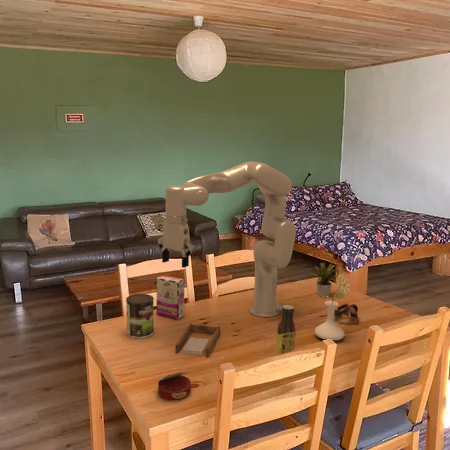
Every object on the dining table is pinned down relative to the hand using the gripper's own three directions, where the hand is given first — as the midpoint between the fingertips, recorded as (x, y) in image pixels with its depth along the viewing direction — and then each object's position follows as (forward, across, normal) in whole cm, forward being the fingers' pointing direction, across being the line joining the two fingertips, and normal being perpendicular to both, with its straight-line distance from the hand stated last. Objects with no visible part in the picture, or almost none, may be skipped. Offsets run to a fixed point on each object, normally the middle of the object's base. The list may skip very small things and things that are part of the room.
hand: (175, 264), depth 179 cm
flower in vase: (+27, -49, -35) cm, 66 cm away
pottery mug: (+27, -48, -54) cm, 78 cm away
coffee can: (+28, +10, +8) cm, 31 cm away
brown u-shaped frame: (+28, -13, +1) cm, 30 cm away
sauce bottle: (+28, -44, -7) cm, 53 cm away
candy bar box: (+28, +13, -12) cm, 33 cm away
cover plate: (+28, -14, +5) cm, 32 cm away
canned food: (+28, -27, +31) cm, 50 cm away
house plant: (+27, -28, -74) cm, 84 cm away
